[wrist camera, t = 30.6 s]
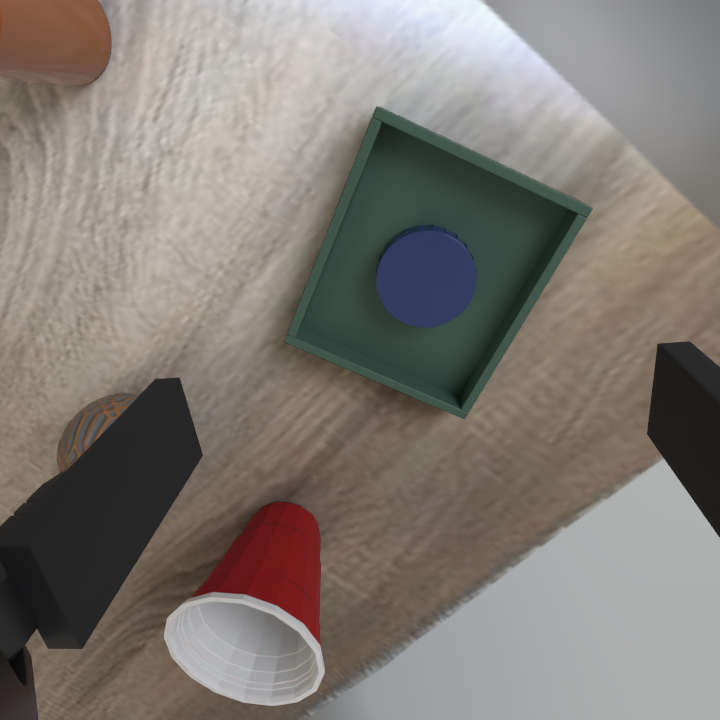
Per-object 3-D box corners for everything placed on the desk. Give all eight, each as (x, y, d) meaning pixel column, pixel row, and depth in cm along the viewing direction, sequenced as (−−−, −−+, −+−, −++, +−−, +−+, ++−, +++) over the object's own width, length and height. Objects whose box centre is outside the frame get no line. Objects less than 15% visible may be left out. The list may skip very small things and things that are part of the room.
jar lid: (424, 336, 36) (424, 347, 34) (357, 273, 34) (354, 281, 33) (495, 272, 33) (499, 280, 32) (426, 202, 32) (426, 207, 30)
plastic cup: (196, 515, 45) (125, 641, 34) (288, 454, 42) (241, 574, 31) (280, 593, 48) (240, 732, 37) (374, 543, 44) (359, 681, 34)
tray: (379, 106, 31) (376, 105, 28) (581, 201, 32) (593, 208, 29) (291, 328, 37) (283, 342, 35) (462, 401, 38) (464, 419, 36)
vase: (96, 371, 40) (16, 433, 32) (185, 391, 40) (126, 458, 32) (98, 445, 43) (25, 519, 35) (180, 464, 43) (126, 542, 35)
